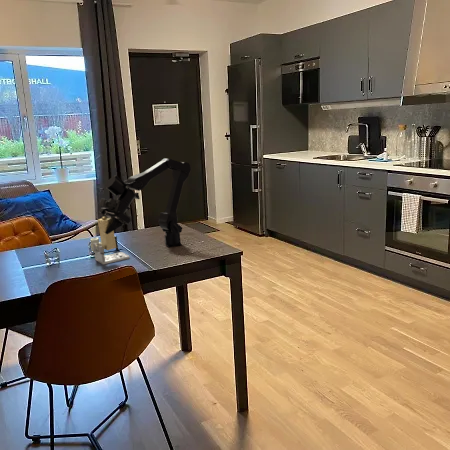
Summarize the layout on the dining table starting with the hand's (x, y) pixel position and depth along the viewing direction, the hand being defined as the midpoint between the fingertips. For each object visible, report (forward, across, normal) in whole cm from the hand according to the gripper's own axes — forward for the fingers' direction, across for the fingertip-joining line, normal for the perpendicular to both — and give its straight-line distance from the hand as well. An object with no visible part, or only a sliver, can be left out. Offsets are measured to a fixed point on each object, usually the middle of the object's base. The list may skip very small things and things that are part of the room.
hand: (103, 232), depth 197 cm
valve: (+4, -18, +15) cm, 24 cm away
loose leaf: (+4, 0, +6) cm, 7 cm away
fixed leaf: (+7, -3, +12) cm, 14 cm away
